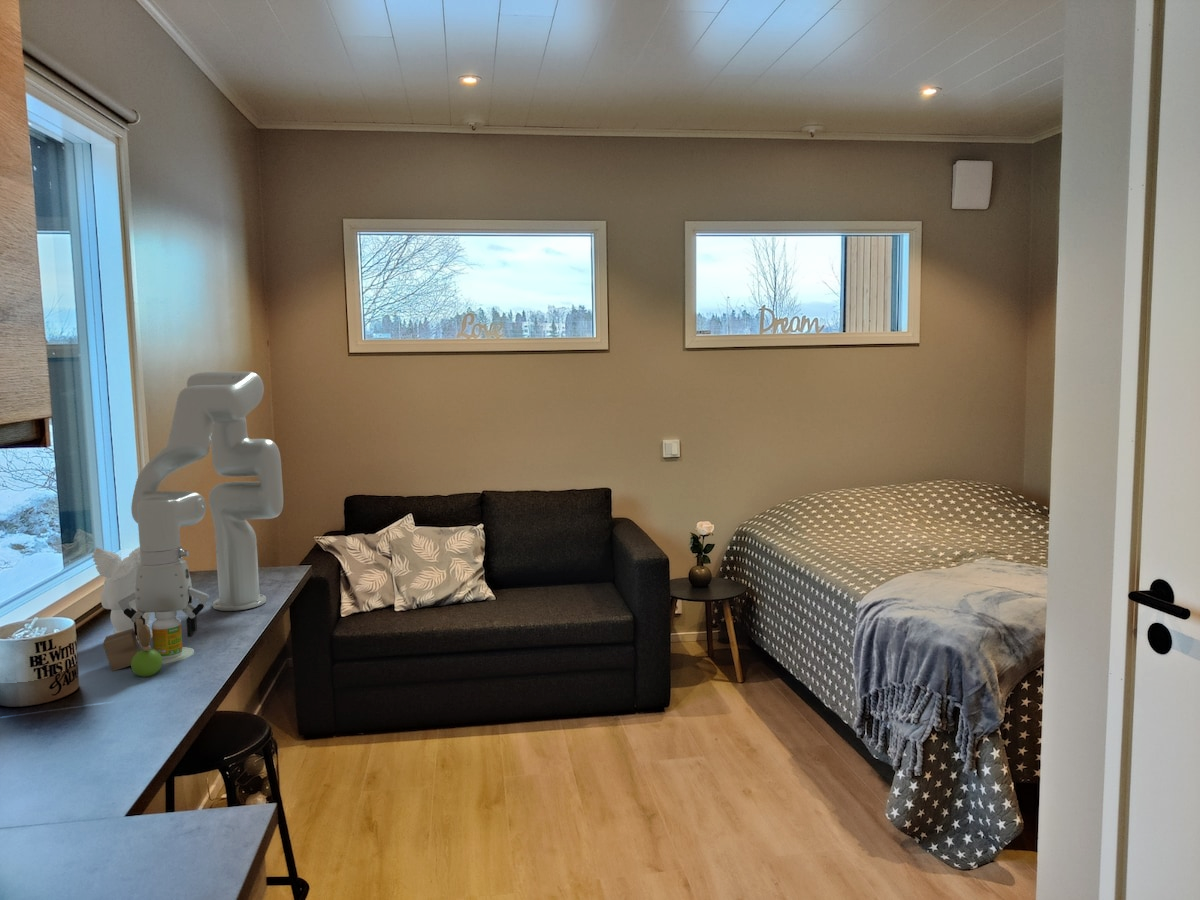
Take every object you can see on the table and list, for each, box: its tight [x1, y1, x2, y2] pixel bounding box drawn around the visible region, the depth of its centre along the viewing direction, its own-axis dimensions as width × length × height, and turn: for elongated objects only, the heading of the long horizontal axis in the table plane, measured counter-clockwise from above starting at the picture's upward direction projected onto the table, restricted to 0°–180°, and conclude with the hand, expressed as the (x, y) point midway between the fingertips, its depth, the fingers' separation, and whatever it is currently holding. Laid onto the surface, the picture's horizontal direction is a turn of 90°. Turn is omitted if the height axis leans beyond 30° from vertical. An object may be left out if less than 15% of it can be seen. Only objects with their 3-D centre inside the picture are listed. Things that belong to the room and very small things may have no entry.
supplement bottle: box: [151, 611, 183, 659], centre depth 174 cm, size 5×5×10 cm
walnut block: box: [102, 628, 141, 672], centre depth 169 cm, size 5×5×6 cm
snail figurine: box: [130, 613, 163, 678], centre depth 164 cm, size 5×6×12 cm
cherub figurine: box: [91, 546, 153, 644], centre depth 183 cm, size 12×12×22 cm
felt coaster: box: [162, 646, 195, 665], centre depth 175 cm, size 10×10×1 cm
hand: (166, 636), depth 174 cm, fingers open, 9 cm apart
